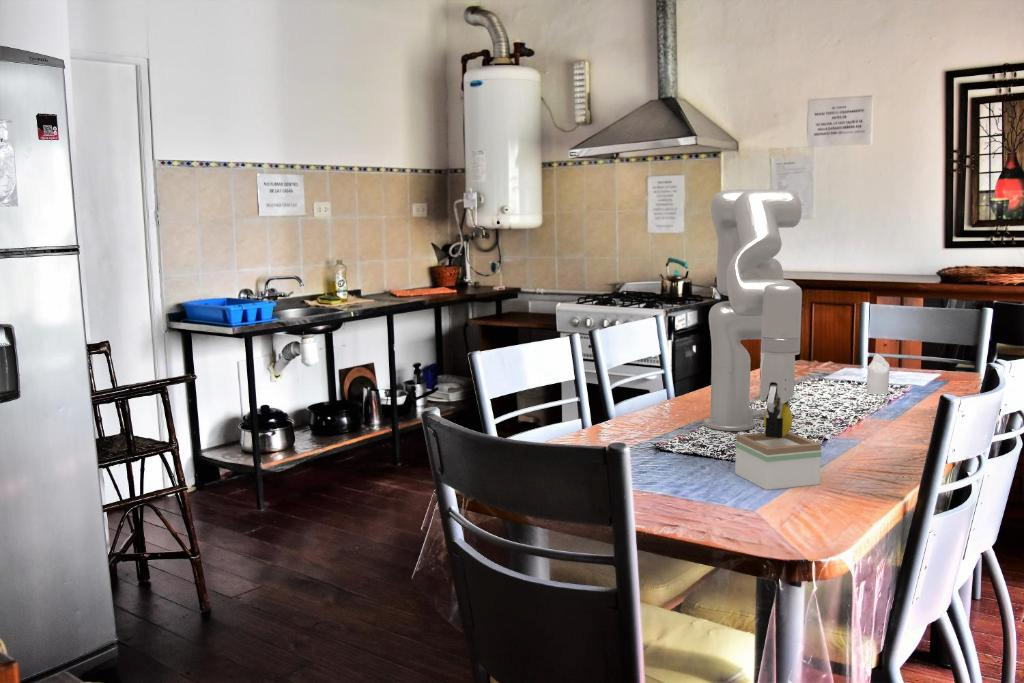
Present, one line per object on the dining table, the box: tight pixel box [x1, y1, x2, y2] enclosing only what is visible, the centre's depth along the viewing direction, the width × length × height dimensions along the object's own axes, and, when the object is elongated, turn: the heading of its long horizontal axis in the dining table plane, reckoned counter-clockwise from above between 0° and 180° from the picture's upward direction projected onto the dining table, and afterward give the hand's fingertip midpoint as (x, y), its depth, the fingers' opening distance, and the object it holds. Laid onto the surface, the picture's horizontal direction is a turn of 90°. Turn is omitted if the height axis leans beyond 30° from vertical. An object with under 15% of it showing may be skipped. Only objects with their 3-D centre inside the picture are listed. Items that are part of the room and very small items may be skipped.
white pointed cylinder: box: [866, 353, 891, 395], centre depth 273 cm, size 6×12×6 cm
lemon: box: [763, 401, 793, 439], centre depth 190 cm, size 6×6×8 cm
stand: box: [734, 431, 822, 491], centre depth 191 cm, size 12×12×8 cm
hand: (777, 432), depth 190 cm, fingers closed on lemon, 5 cm apart
